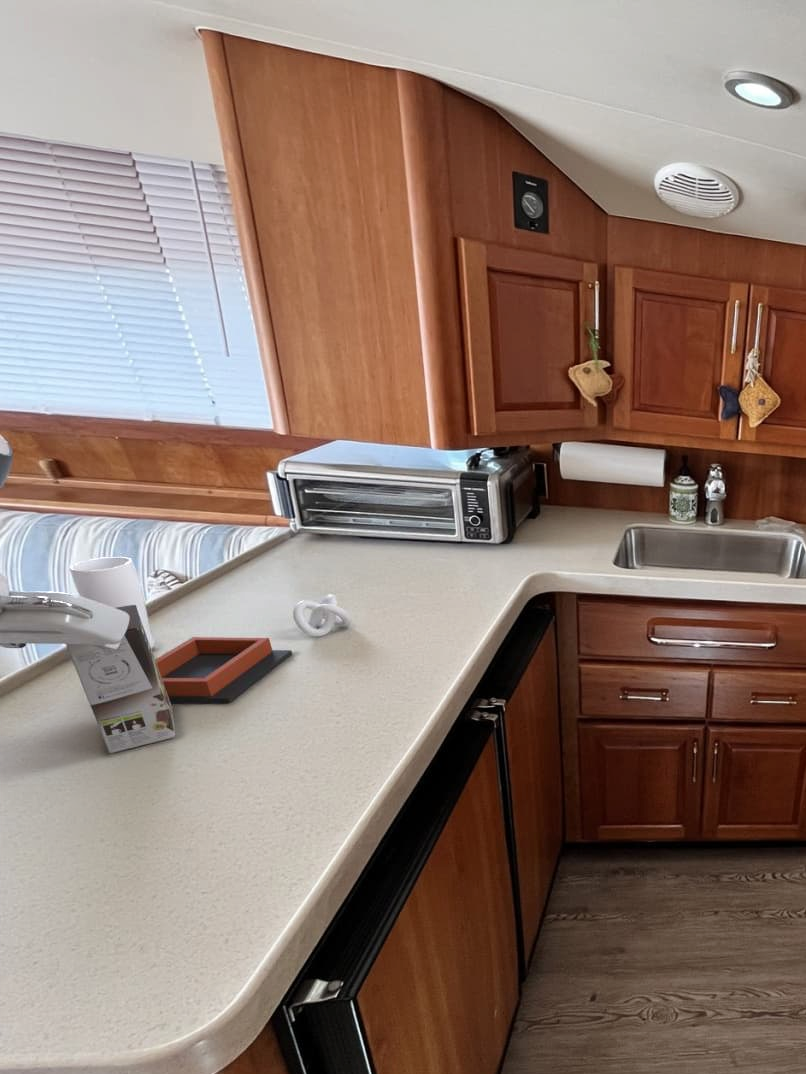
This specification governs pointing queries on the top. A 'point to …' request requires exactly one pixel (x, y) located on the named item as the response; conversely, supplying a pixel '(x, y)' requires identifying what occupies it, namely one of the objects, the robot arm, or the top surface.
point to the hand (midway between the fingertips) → (67, 642)
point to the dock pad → (216, 668)
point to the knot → (321, 616)
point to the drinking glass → (112, 585)
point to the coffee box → (125, 688)
